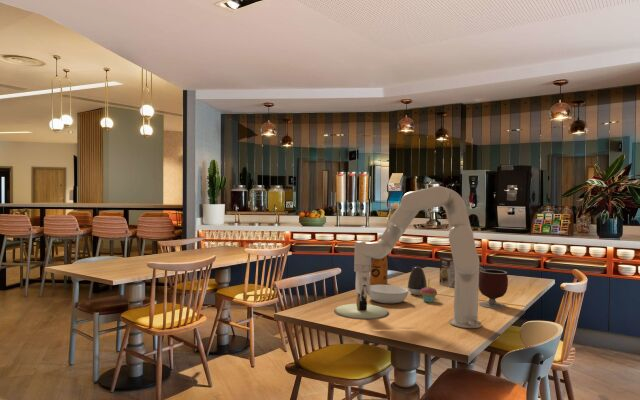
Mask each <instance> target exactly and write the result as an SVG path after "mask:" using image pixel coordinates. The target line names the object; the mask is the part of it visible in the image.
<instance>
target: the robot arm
mask: <svg viewBox="0 0 640 400" xmlns="http://www.w3.org/2000/svg"><path fill="white" fill-rule="evenodd" d="M440 207H442V208H443V209H444V210H445V213H446V214H445V215H446V219H447V222H448V229H449V233H448V241H449V245H450V246H449V247H450V251H451V256H452V259H453V261H454V265H455V287H454V294H453V295H454V299H453V318H451V319H450V320H449V323H450V325H452V326H455V327H458V328H461V329H462V328H463V329H477V328H481V327H482V322H481V321H479V320H478V318H479V316H478V314H479V272H480V271H479V270H480V268H479V266H480V256H479V255H478V252H477V247H476V243H475V237H474V232H473V230H472V227H471V222H470V219H469V215H468V211H467V210H468V209H467V207H466V203H465V201H464V199H463V198H462V196H461V195H460V194H459V192H456V191H455V190H453V189H451V188H450V187H449V188H448V187H445V186H440V185H437V186H431V187H428V188H423V189H418V190H414V191H408V192H406V193H404V195H402V197H401V200H400V203H399V204H398V206H397V208H396V209H395V210H394V212H393V213H392V214H391V216H390V218H389V219H388V223H387V226H386V229H385V230H384V231H383V233H382V235H381V236H380V238H379V239H378V240H376V241H372V242H371V241H370V240H363V239H362V240H356V241H355V242H354V257H353V258H354V261H353V262H354V263H353V264H354V265H353V266H354V267H353V268H354V269H353V272H355V291H356V292H357V293H356V297H357V296H360V305H359V309H360V310H367V304H368V298H367V297H368V295H369V294H370V286H371V284H370V272H371V262H372V259H374V258H376V259H381V258H383V257H385V256H388V255H389V254H390V253H391V252H392V251H393V248H394V247H395V246H396V245H397V243H398V241H399V240H400V239H401V237H402V236H403V234H404V233H405V232H406V231H407V229H408V227H409V226H410V224H411V222H412V221H413V220H414V219H415V217H416V216H417V215H418V213H419V212H420V211H425V210H429V209H433V208H434V209H435V208H440Z"/></svg>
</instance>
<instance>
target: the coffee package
mask: <svg viewBox="0 0 640 400" xmlns="http://www.w3.org/2000/svg"><path fill="white" fill-rule="evenodd" d="M387 256H388V255H386V256H385V257H383V258H381V259H376V258H372V260H371V272H369V274H370V286H371V285H388V272H389V266H388V264H389V263H388V257H387Z"/></svg>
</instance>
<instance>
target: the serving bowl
mask: <svg viewBox="0 0 640 400" xmlns="http://www.w3.org/2000/svg"><path fill="white" fill-rule="evenodd" d="M408 294H409V289H408V288H406V287H403V286H400V285H394V284H393V285H391V284H386V285H371V284H370V294H369V295H368V294H367V297H369V299H371V300H372V301H374V302H376V303H381V304H397V303H402V302H403V301H405V300H406V299H407V297H408Z"/></svg>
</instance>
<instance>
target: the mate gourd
mask: <svg viewBox="0 0 640 400" xmlns="http://www.w3.org/2000/svg"><path fill="white" fill-rule="evenodd" d="M508 286H509V279H508V272H507V271H505V270H500V269H488V268H487V269H485V268H484V267H482V266H480V265H479V288H478V291H479V292H480V293H481V295H483V296H485V297H486V298H489V300H488V301H480V302H478V306H480V307H483V308H486V309H494V310H496V309H497V310H500V309H502V308H503V309H506V304H504V303H501V302H497V300H496V299H498V298H502V297H504V296H505V294H506V293H507V290H508ZM503 309H502V310H503Z"/></svg>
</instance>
